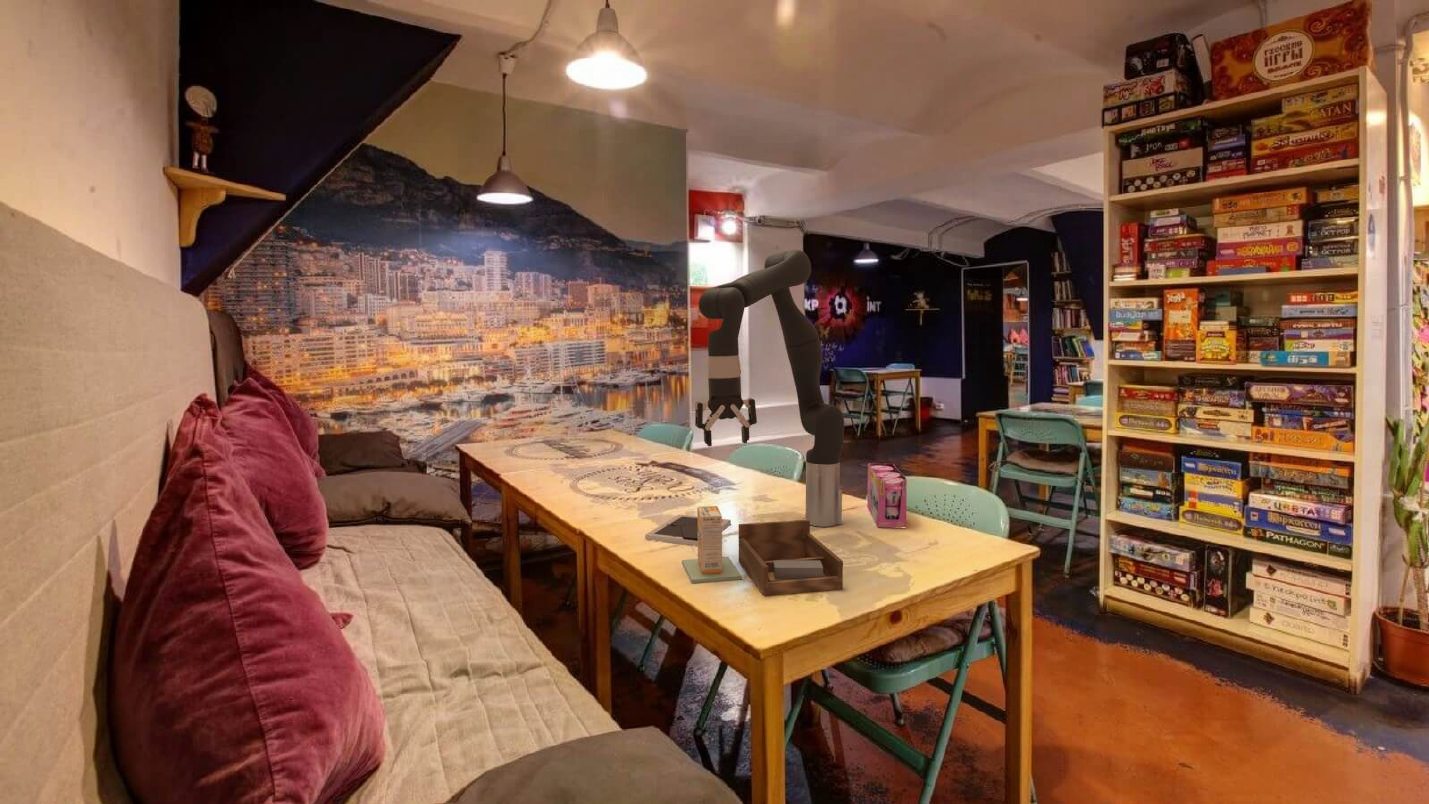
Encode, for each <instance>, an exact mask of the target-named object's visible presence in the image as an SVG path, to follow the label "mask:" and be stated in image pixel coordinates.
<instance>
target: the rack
mask: <svg viewBox="0 0 1429 804" xmlns="http://www.w3.org/2000/svg"><path fill="white" fill-rule="evenodd" d="M773 560H804V561H821V563H822V566H823V573H824V575H825V576H826V577H819V578H807V579H795V580H783V581H771V582H768V572H773ZM738 563H739V564H740V566H741V567H742V569H743V570H744V571H745V573H746V574H747V576H748V577H749V579H750V580H751V581H752V582H753V583H754V585H755V586H756V588H757V589H758V590H759V592H760V593H761V594H762V596H763V597H766V596H768V597H769V596H779V595H790V594H803V593H813V592H822V591H834V590H843V586H844V585H843V583H844V581H843V578H844V573H843V572H844V571H843V570H844V561H843V560H842V558H840V557H839V556H838V555H836V554H835V553H834V552H833V551H832V550H831V549H830V548H828V547H827V546H826V545H825V544H823V543H822V542H821V541H820V540H819V539H818V538H816V537H815V536H814V535H813V534H811V525H810V520H806V519H799V520H798V519H795V520H782V521H769V522H766V521H765V522H752V523H738Z"/></svg>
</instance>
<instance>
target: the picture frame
mask: <svg viewBox="0 0 1429 804" xmlns="http://www.w3.org/2000/svg"><path fill="white" fill-rule="evenodd" d="M731 525H732V521H731V519H727V518H726V519H725V518H722V532H723V531H725V530H726V529H727V528H728V527H730V526H731ZM645 539H647V540H646V541H650V540H655V541H654V542H658V541H662V542H661V543H666V542H668V543H667V544H674V545H675V544H676V545H683V544H689V545H688V546H691V545H695V546H694V547H698V515H687V514H677V515H675V516H674V517H673V518H671V519H669V520H668V521H666V522H664V523H663V524H661V525H658V527H656V528H654V529H653V530H651V531H649V532H647V533H646V534H644V540H645Z"/></svg>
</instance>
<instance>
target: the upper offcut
mask: <svg viewBox="0 0 1429 804" xmlns="http://www.w3.org/2000/svg"><path fill="white" fill-rule="evenodd" d="M773 572H774V577H775V579H807V578H819V577H823V566H822V563H821V561H804V560H773Z"/></svg>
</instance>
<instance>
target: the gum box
mask: <svg viewBox="0 0 1429 804" xmlns="http://www.w3.org/2000/svg"><path fill="white" fill-rule="evenodd" d="M907 481H908V479H907V477H906V476H905V475H904V474H903V473H902V472H901V471H900V470H899V469H898V468H897V467H896V465H895V463H868V464H867V496H866V497H867V501H866V502H867V509H868V511H869V513H870V515H871V517H872V519H873V521H874V523H876V524H875V525H876V527H877V528H878V527H906V528H907V497H908V495H907V491H908V489H907V486H908V484H907V483H908V482H907Z"/></svg>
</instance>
